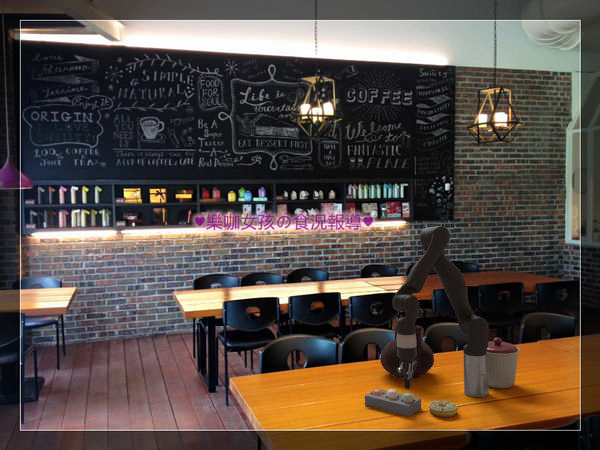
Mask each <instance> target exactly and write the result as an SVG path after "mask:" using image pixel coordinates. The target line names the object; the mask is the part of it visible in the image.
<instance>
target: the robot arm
mask: <svg viewBox="0 0 600 450" xmlns="http://www.w3.org/2000/svg"><path fill="white" fill-rule="evenodd" d="M450 238H451V237H450V232H449V229H448V228H446V227H445V226H443V225H437V226H436V225H435V226H430V227H425V228H423V229H421V231H420V233H419V241H420V244H421V246H422V248H423V250H424V252H425V253H424V254H422V256H421V257H420V258H419V259H418V260H417V262H415V263H414V265H413V266H412V267H411V269H410V271H409V273H408V276H407V277H406V280H405V281H404V283H403V284H402V285H401V286H400V287H399V289H398V290H397V291H396V292H395V294H394V295H393V298H392V302H391V303H392V304H391V305H392V308H393V309H394V311H397V312H403V313H405V316H404V317H400V318H398V319H397V321H396V325H397V356H398V357H399V358H400V367H399V368H397V369H396V370H397V372H398V374H399V376H400V378H399V379H402V380H403V388H404V389H406V390H410V389H411V388H412V379H413V378H412V376H414V373H415V370H416V366H417V362H415V361H414V358H415V357H416V356H417V350H416V334H415V326H416V322H417V318H418V314H419V310H420V301H419V298H418V297H417V295H415V294H418V293H421V292H422V290H423V287H424V286H425V284H426V282H427V279H428V276H429V275H430V272H431V271H432V269H433V268H434V270H435V272H436V274H437V276H438V277H439V280H440V283H441V285H442V288H443V289H444V292H445V294H446V296H447V298H448V300H449V302H450V304H451V307H452V308H453V311H454V313H455V317H456V320H457V322H458V326H459V328H460V330H461V332H462V333H463V334H464V335H466V336H468V337H467V339H468V340H467V344H465V345H464V346H463V349H462V350H463V390H464V391H463V393H464V394H465V395H467V396H469V397H473V398H485V397H487V395H488V394H490V391H489V390H490V389H489V388H490V386H489V377H488V371H487V365H486V351H487V348H488V342H489V338H490V337H489V331H490V327H489V323H488V321H487V320H486V319H485V318H484V317H481V316H478V315H476V313H474V310H473V309H472V306H471V305H470V303H469V296H468V295H469V294H468V292H469V291H468V286H467V283H466V280H465V278H464V276H463V274H462V271H461V270H460V269H459V268H458V267H457V266H456V265H455V264H454V263H453V262H452V261H451V260H450V259H449V258H448V257H447V256H446V255H445V253H444V251H445V249H446V248H447V246H448V244H449V242H450Z"/></svg>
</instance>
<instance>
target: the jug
mask: <svg viewBox="0 0 600 450" xmlns="http://www.w3.org/2000/svg"><path fill="white" fill-rule="evenodd" d="M422 328H423V326H417V325H415V334H416V350H417V356H416V357H415V358H414V361H415V362H417V366H416V370H415V373H414V376H412V378H411V379H417V378H419V377H422V376H423V375H426V373H428V372H429V371H430V370H431V369H432V368H433V366H434V363H435V356H434V352H433V350H432V348H431V347H430V345H429V344H427V343H426V342H424V341H422V330H423V329H422ZM393 329H394V339H392V340H391V341H390V342H388V343H387V344H386V345H384V347H383V348H382V350H381V353H380V364H381V366H382V368H383V369H384V370H385V371H386V372H387V373H388V374H390V375H392V376H393V377H396V378H399V379H401V378H400V376H399V374H398V372H397V370H396V369H397V368H399V367H400V358H399V357H398V356H397V324H396V325H395V327H393Z"/></svg>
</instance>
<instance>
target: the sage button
mask: <svg viewBox="0 0 600 450" xmlns="http://www.w3.org/2000/svg"><path fill="white" fill-rule="evenodd" d="M402 394H403V402H405V403H410V404H411V403H413V397H414V393H411V392H405V393H402Z"/></svg>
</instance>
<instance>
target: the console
mask: <svg viewBox="0 0 600 450" xmlns="http://www.w3.org/2000/svg"><path fill="white" fill-rule="evenodd" d="M376 389H379V388H377V387H376ZM380 389H381V388H380ZM381 390H382V395H381V396H377V395H373V390H372V391H370V392H369V393H366V394H365V395H364V405H365V406H366V407H367V406H368V407H371V408H375V409H379V410H383V411H386V412H390V413H394V414H398V415H401V416H404V417H411V416H412V415H414V414H415V413H417V412H418V411H419V410H421V409H422V398H419V397H416V396H413V403H411V404H410V403H405V402H403V394H404V393H401V392H400V393H399V392H398V398H397V399H395V400H393V399H389V398H388V395H387V391H388V390H387V389H384V388H383V389H381Z"/></svg>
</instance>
